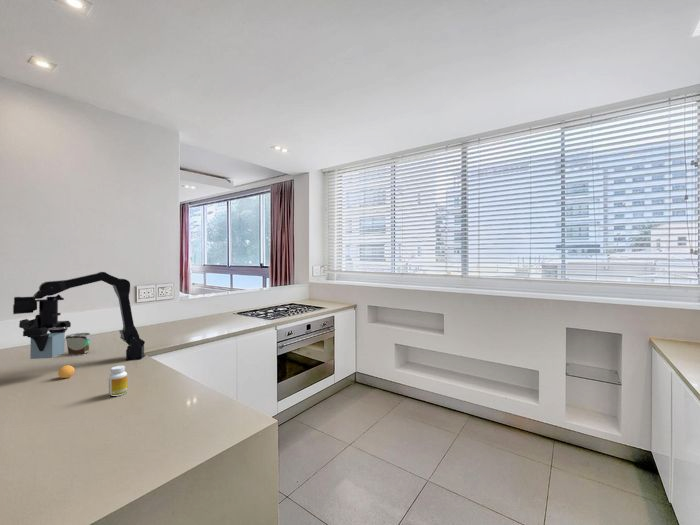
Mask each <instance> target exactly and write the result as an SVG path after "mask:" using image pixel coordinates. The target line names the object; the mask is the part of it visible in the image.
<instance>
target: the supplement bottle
mask: <svg viewBox="0 0 700 525" xmlns="http://www.w3.org/2000/svg"><path fill="white" fill-rule="evenodd" d="M127 390H128V372H127V371H126V366H125V365H116V366H113V367H111V368H110V374H109V375H108V396H109V395H119V394H122V393H125V392H127V393H128V391H127Z"/></svg>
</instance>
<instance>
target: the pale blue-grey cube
mask: <svg viewBox="0 0 700 525" xmlns="http://www.w3.org/2000/svg"><path fill="white" fill-rule="evenodd" d="M47 334H49V336H48V339H47V342H46V345H45V348H44V350H43V351H39V349H38V347H37V345H36V343H35V341H34V340H33V339H32V338H30V360H36V359H37V360H38V359H52V358H55V357H58V356H60V355H63V354H65V351H66V350H65V346H66V344H65V342H66V341H65V340H66V339H65V338H66V336H65V334H66V332H65V333H50V332H47Z"/></svg>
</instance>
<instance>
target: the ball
mask: <svg viewBox="0 0 700 525" xmlns="http://www.w3.org/2000/svg"><path fill="white" fill-rule="evenodd" d="M57 373H58V374H57V375H58V376H59V378H62V379H67V378H70V377H72V376H73V374H75V368H74V367H73V366H72V365H68V364H67V365H63V366H62V367H61V368H59V370H58V371H57Z"/></svg>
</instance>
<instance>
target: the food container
mask: <svg viewBox="0 0 700 525" xmlns="http://www.w3.org/2000/svg"><path fill="white" fill-rule="evenodd" d="M91 339H92V334H91V333H90V332H76V333H71V334H66V336H65V340H66V346H67V354H68V355H70V354H86V355H87V353H88V352H89V351H90V341H91ZM89 353H90V352H89ZM89 353H88V354H89Z"/></svg>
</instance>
